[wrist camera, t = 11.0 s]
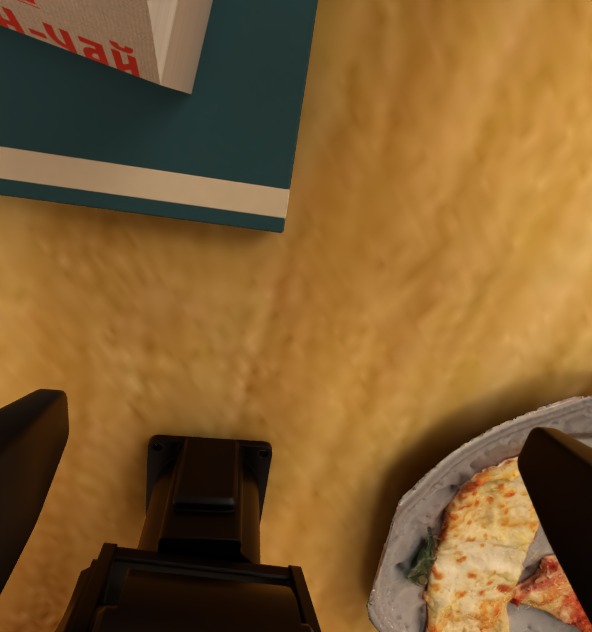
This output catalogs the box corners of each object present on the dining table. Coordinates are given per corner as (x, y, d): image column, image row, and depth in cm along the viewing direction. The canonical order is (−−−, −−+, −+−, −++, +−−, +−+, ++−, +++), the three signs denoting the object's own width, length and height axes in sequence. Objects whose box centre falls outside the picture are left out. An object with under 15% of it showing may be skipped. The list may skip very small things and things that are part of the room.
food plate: (618, 639, 36) (653, 690, 33) (339, 650, 33) (349, 707, 30) (791, 380, 26) (866, 417, 23) (412, 361, 23) (438, 401, 20)
